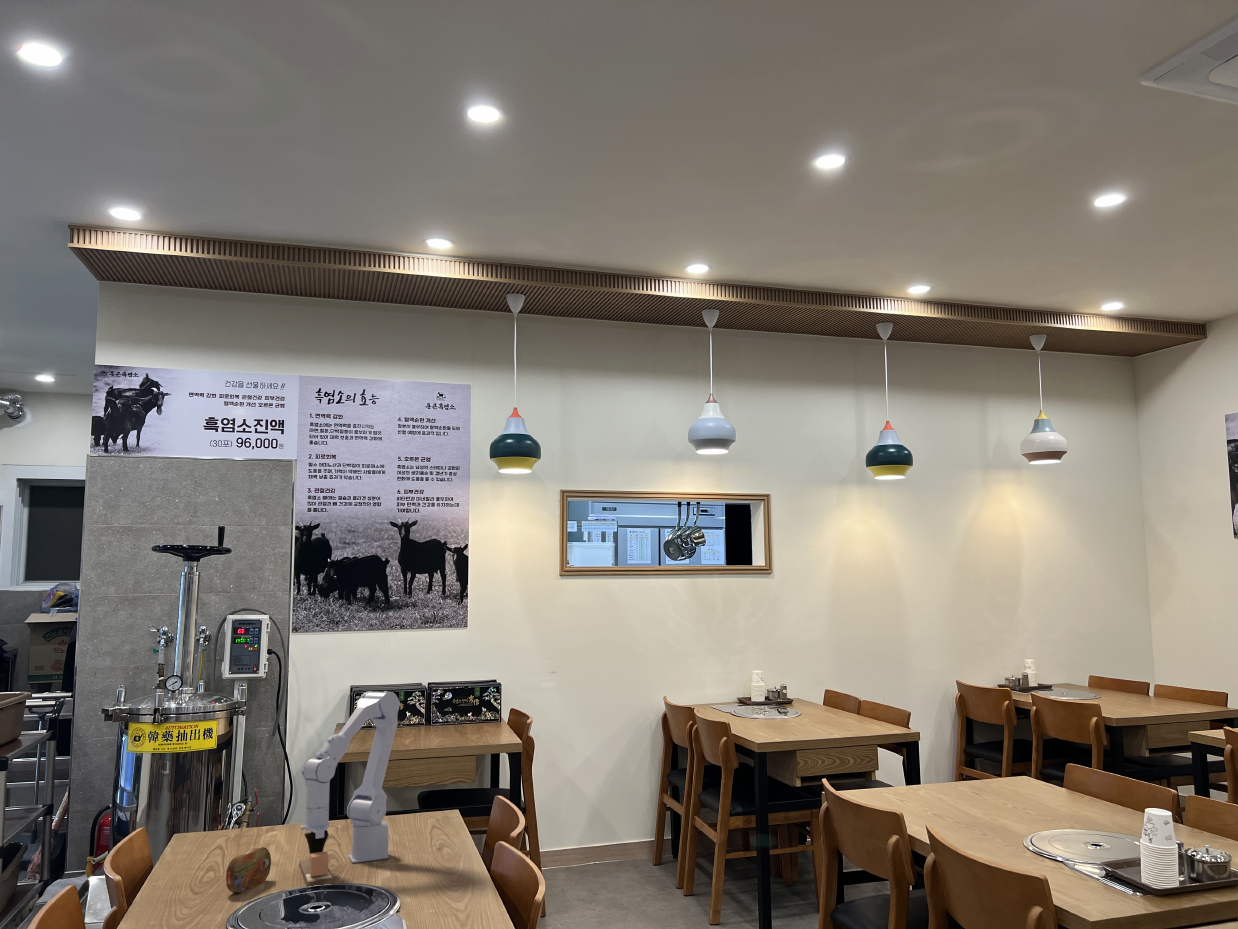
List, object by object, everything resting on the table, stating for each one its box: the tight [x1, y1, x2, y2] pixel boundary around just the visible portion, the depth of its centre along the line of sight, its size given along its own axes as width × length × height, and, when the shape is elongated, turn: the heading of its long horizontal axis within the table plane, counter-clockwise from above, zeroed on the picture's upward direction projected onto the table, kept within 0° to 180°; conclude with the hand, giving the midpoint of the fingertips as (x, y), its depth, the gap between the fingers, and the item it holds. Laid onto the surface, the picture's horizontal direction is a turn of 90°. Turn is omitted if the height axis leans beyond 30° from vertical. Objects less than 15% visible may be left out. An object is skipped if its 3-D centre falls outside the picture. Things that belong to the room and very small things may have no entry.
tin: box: [225, 846, 272, 894], centre depth 211 cm, size 15×3×8 cm, turn 168°
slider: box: [309, 851, 329, 877], centre depth 214 cm, size 4×4×4 cm
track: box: [298, 858, 334, 888], centre depth 219 cm, size 6×22×2 cm, turn 25°
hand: (315, 862), depth 221 cm, fingers closed
